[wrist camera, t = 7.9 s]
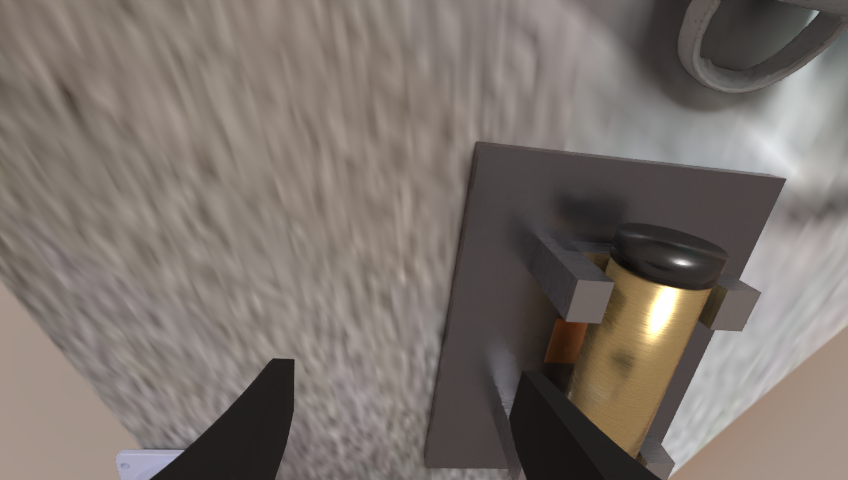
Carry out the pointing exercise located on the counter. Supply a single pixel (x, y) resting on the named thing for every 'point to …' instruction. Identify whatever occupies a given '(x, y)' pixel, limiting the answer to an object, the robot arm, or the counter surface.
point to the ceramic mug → (839, 9)
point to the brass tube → (642, 327)
